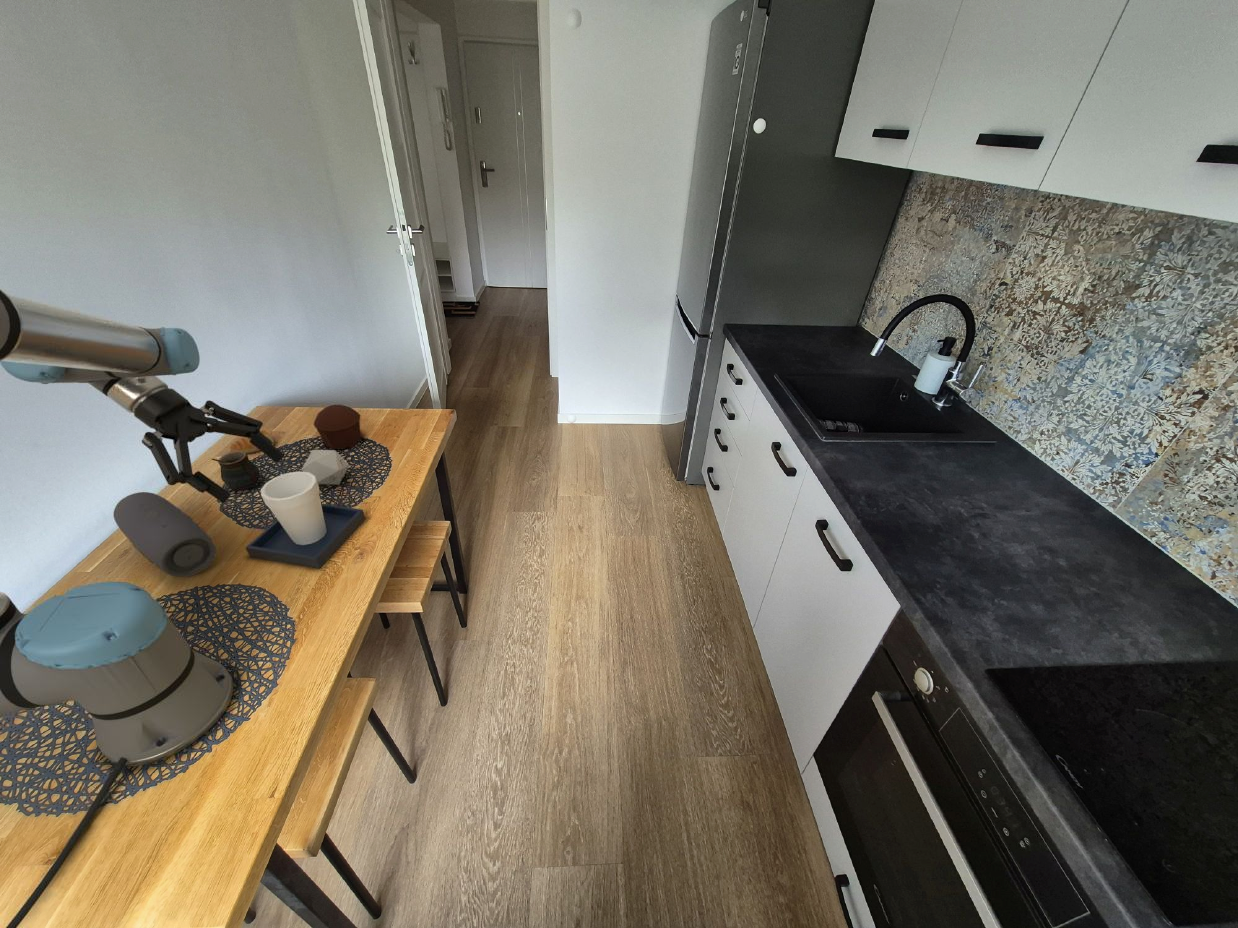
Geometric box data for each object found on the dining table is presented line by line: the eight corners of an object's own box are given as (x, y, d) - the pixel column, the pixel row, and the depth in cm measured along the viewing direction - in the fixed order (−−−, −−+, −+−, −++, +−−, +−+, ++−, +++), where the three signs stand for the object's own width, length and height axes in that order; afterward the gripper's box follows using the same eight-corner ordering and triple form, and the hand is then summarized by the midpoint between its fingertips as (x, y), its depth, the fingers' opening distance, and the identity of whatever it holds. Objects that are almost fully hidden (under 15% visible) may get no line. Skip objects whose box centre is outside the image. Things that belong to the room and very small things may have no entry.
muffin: (315, 438, 136) (303, 406, 130) (357, 426, 142) (347, 394, 136) (329, 457, 129) (318, 424, 123) (373, 443, 135) (363, 410, 129)
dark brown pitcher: (271, 478, 120) (255, 443, 115) (246, 496, 114) (228, 461, 108) (244, 474, 121) (228, 439, 116) (219, 492, 115) (200, 457, 109)
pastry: (237, 459, 126) (231, 447, 124) (228, 450, 130) (222, 437, 127) (277, 445, 132) (272, 433, 130) (267, 436, 136) (262, 424, 133)
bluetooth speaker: (230, 562, 98) (208, 524, 92) (174, 592, 91) (147, 553, 85) (179, 517, 107) (156, 481, 102) (126, 542, 101) (98, 504, 95)
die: (324, 499, 116) (343, 464, 114) (288, 479, 114) (307, 443, 112) (342, 488, 124) (360, 456, 122) (309, 470, 123) (327, 436, 121)
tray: (319, 568, 97) (315, 559, 96) (250, 556, 99) (244, 547, 98) (365, 518, 110) (362, 509, 108) (303, 508, 112) (299, 499, 110)
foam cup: (343, 531, 105) (325, 482, 98) (300, 556, 99) (277, 506, 91) (317, 514, 109) (298, 466, 102) (275, 538, 103) (251, 488, 95)
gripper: (83, 422, 78) (207, 508, 85) (215, 362, 99) (307, 435, 105) (74, 446, 82) (194, 527, 89) (204, 383, 102) (293, 453, 109)
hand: (255, 477), depth 97 cm, fingers open, 13 cm apart
